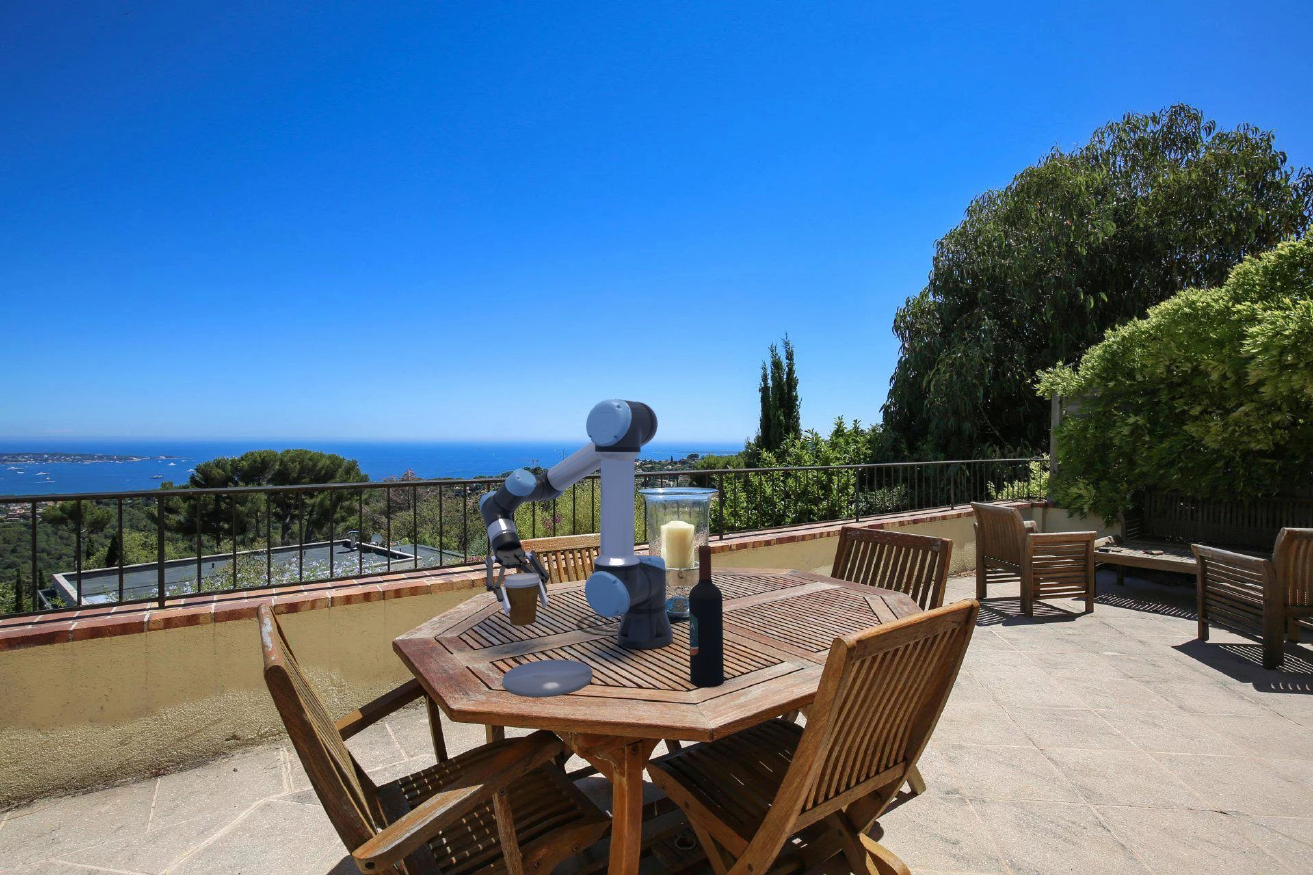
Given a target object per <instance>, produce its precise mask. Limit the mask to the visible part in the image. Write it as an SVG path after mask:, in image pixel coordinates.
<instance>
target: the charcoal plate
mask: <svg viewBox="0 0 1313 875" xmlns="http://www.w3.org/2000/svg"><path fill="white" fill-rule="evenodd" d="M591 681H593V670H592V668H591V667H590V666H589V665H588V664H586V663H583V662H580V661H577V660H571V659H558V658H557V659H542V660H536V661H531V662H526V663H523V664H520V665H517V666H515V667H513V668H511V669H509V670H507V671H506V672H505V673H504V675H503V676H502V686H503V688H504V689H505V690H506V691H507V692H509V693H511V694H513V695H517V696H521V697H528V698H529V697H530V698H531V697H532V698H546V697H556V696H557V697H558V696H563V695H567V694H570V693H574V692H577V691H579V690H581V689H583V688H585V687H587V686H588V685H589V684H590V683H591Z"/></svg>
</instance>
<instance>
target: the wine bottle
mask: <svg viewBox="0 0 1313 875" xmlns="http://www.w3.org/2000/svg"><path fill="white" fill-rule="evenodd" d="M697 554H698V582H697V583H696V585H694V586H693V587H692V588H691V589H690V591H689V594H688V617H689V618H688V624H689V626H688V628H689V635H688V636H689V683H690V684H692V685H693V684H694V685H693V686H695V685H696V686H695V687H699V688H716V687H720V686H722V685H723V684H725V673H724V672H725V671H724V670H725V668H724V666H725V665H724V617H723V616H724V613H723V612H724V611H723V610H724V608H723V593H722V590H720V588H719V587H718V586H717V585H716V584H714V583H713V580H712V547H711V545H699V546H698V553H697Z"/></svg>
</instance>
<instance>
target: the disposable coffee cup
mask: <svg viewBox="0 0 1313 875" xmlns="http://www.w3.org/2000/svg"><path fill="white" fill-rule="evenodd" d="M540 581H541V579H540V578H539V575H538V574H535V573H525V572H521V573H513V574H510V575H509V574H508V575H505V576H504V580H503V582H502V584H503V586H504V588H505V591H506V595H507V598H508V601H509V604H510V607H511V608H510V611H509V613H508V615H509V620H510V622H509V623H510V625H512V626H514V627H515V626H516V627H522V626H523V627H524V626H525V627H526V626H530V625H532V624H535V623H536V620H537V608H538V597H539V595H538V589H539V583H540Z"/></svg>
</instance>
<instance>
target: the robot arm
mask: <svg viewBox="0 0 1313 875" xmlns="http://www.w3.org/2000/svg"><path fill="white" fill-rule="evenodd" d="M658 425H659V422H658V416H657V414H656V412H655V411H654V410H653V408H652V407H651V406H649V405H648V404H646V403H644V402H642V401H641V402H640V401H633V400H625V399H622V398H621V399H620V398H619V399H618V398H614V399H613V398H611V399H610V398H609V399H604V400H601V401H599V402H598V403H596V404H595V405H594V406H593V407H592V409H591V410H590V411H589V413H588V415H587V418H586V423H585V429H586V433H587V436H588V438H590V442H589V443H587V444H585V445H584V446H583V447H581V448H580V449H578V450H576V451H575V452H573V453H572V454H570V455H569V456H567V457H566V458H564V459H562V460H561V461H560V462H559V463H557V464H555V465H553V466H552V467H550V468H549V469H548V470H546V471H544V472H543V473H541V474H537V475H536V474H535V475H534V474H533V473H531V472H530V471H529V470H527V469H524V468H517V469H515V470H514V471H512V473H511V474H509V476H507V478H506V479H505V481H504V482H503V483H502V484H501V486H499V488H498V489H497V490H491V491H489V492H487V493H486V494H483V495H482V497H480V499H479V508H480V514H481V516H482V519H483V522H484V526H485V528H486V531H487V534H488V538H489V541H490V544H491V548H492V550H493V554H494V555H490V554H487V555H486V557H485V560H484V564H485V568H486V584H485V585H486V587H485V588H486V589H485V590H486V592H493V595H495V598H496V599H497V600H496V601H497V602H498V603H501V604H502V608H503V612H504V615H509V611H510V608H511V607H510V604H509V601H508V598H507V595H506V589H505V586H504V585H503V586H502V584H503V582H502V581H503V578H504V577H505V576H504V575H505V573H506V570H511V569H518V570H519V571H521V572H522V573H535V574H538V575H539V578H540V579H541V581H540V583H539V589H538V597H539V601H540V604H541V606H542V608H543V609H545V608H546V607H547V605H548V603H549V599H548V597H547V593H548V588H547V585H546V584H548V582H549V580H550V577H551V575H550V574H549V572H548V571H547V570H546V568H545V567H544V565H543V564H542V563H541V561H540V559H539V558H538V556H537V554H536V550H534V549H531V551H529V552H528V551H525V550H524V549H523V547H522V546H523V545H522V543H521V540H520V537H519V535H518V531H517V529H516V527H515V526H516V525H515V523H514V519H513V517H512V515H513V514H514V513H515V512H516V511H517V510H518V509H519V507H520V506H521V505H522V504H524V503H531V502H532V503H533V502H539V501H551V500H555V499H558V498H560V497H561V496H562V495H563V493H564V491H565V490H566V489H568V488H570V487H571V486H573V485H574V484H576V483H577V482H579V481H581V480H582V479H584V478H586V477H587V476H589V475H590V474H592V473H594V472H595V471H597V470H600V499H599V500H600V506H599V507H600V509H599V511H600V513H599V514H600V515H599V516H600V519H599V520H600V525H599V529H600V530H599V533H600V534H599V554H598V556H597V557H596V558H595V559H594V560H593V573H592V574H590V575H589V577H588V579H587V580H586V582H585V585H584V594H585V598H586V601H587V603H588V606H589V607H590V608H592V610H593V611H594V612H595V613H596V614H597V615H598V616H601V617H604V618H614V617H620V616H622V617H621V619H620V623H619V626H618V629H617V633H616V638H617V639H616V641H617V644H618V645H619V646H622V647H624V648H628V649H634V650H635V649H636V650H653V649H659V648H663V647H666V646H668V645H670V644H672V643H673V642H674V640H673V639H674V632H673V629H672V626H671V622H670V619H669V617H668V614H667V597H666V595H667V591H666V590H667V589H666V587H667V586H666V585H667V583H666V582H667V581H666V580H667V579H666V577H667V576H666V575H667V574H666V573H667V569H666V560H664V557H661V556H655V555H642V554H641V555H639V554H638V555H636V554H635V460H636V459H637V457H639V455H640V454H641V450H642V449H641V448H642V447H643V446H645V445H647V444H648V443H650V441H652V440H653V439H654V437H655V436H656V433H657V431H658V428H659V427H658ZM528 561H529V562H528ZM495 562H496V563H497V564H499V566H500V569H499V573H498V575H497V578H496V582H495V583H494V565H495V564H494V563H495Z"/></svg>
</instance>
